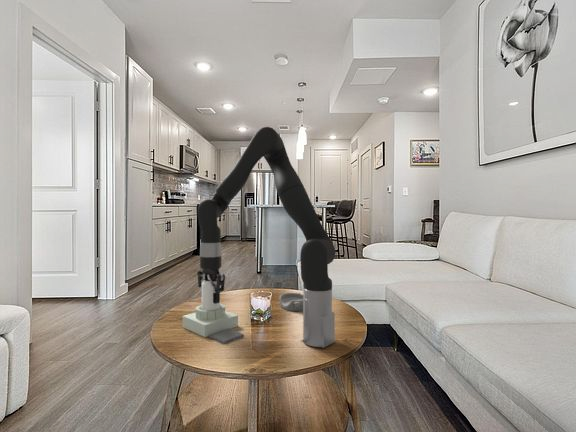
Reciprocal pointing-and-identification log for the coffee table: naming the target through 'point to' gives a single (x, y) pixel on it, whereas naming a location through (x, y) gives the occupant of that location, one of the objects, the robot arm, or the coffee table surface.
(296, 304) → the dish
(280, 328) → the coffee table surface
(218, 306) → the can
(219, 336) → the slate coaster
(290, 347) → the coffee table surface
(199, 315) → the pedestal block
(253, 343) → the coffee table surface
